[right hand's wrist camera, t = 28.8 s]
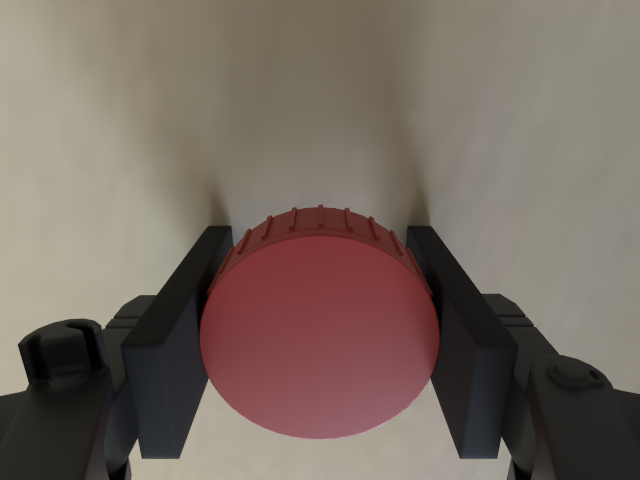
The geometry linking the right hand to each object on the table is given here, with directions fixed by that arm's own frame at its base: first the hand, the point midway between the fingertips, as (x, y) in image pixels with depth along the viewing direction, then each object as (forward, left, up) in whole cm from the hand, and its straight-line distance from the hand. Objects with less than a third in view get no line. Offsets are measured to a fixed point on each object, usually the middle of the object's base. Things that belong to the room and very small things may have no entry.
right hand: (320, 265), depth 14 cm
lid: (0, 0, +4) cm, 4 cm away
